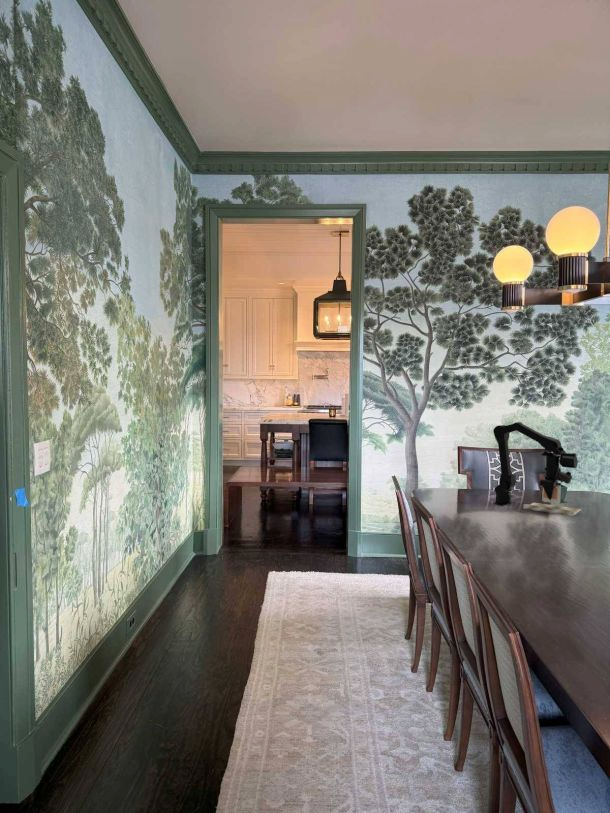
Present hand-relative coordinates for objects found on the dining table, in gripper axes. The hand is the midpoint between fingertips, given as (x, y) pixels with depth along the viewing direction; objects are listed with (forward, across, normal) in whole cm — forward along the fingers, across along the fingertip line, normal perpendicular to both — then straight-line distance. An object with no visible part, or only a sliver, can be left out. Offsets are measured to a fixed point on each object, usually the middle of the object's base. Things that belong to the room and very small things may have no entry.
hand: (551, 498), depth 258 cm
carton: (+2, 0, 0) cm, 2 cm away
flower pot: (+7, +22, +4) cm, 23 cm away
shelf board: (+6, +2, 0) cm, 7 cm away
